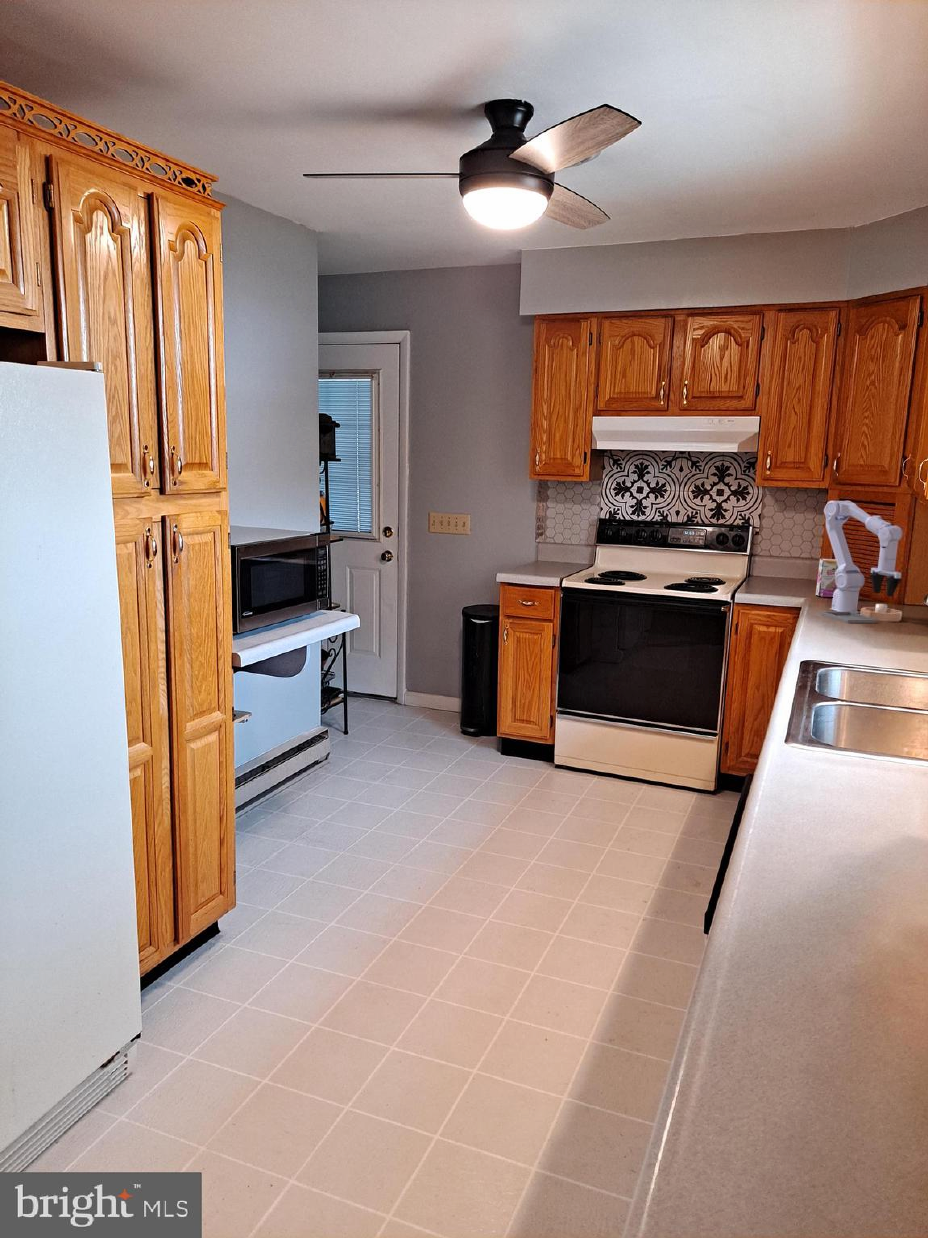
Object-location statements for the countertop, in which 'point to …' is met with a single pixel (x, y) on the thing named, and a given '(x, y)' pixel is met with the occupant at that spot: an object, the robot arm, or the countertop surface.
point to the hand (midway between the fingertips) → (883, 594)
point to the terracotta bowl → (882, 614)
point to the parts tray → (849, 617)
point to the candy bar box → (826, 578)
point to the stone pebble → (881, 608)
